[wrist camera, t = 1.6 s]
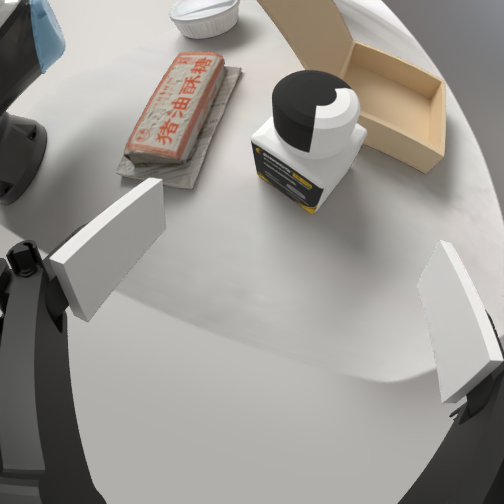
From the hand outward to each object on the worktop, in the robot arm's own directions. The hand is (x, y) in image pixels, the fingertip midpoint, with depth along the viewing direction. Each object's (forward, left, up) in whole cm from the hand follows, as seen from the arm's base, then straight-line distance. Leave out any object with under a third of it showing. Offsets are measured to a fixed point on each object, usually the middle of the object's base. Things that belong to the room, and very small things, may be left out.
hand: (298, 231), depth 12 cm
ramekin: (-25, +32, -14) cm, 43 cm away
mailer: (+1, +22, -14) cm, 26 cm away
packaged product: (-18, +12, -15) cm, 26 cm away
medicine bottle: (-2, +10, -14) cm, 17 cm away
